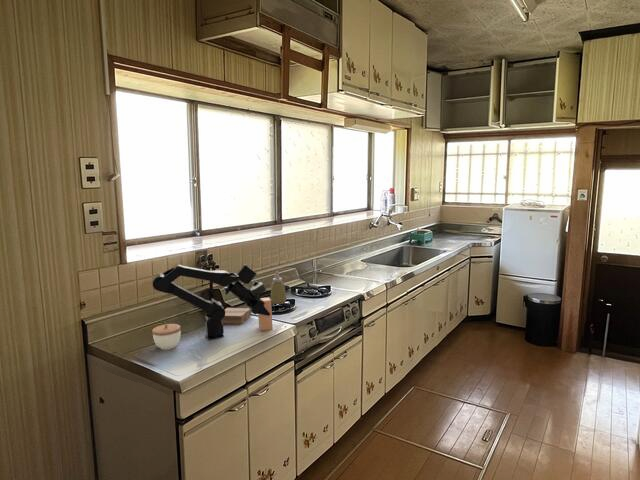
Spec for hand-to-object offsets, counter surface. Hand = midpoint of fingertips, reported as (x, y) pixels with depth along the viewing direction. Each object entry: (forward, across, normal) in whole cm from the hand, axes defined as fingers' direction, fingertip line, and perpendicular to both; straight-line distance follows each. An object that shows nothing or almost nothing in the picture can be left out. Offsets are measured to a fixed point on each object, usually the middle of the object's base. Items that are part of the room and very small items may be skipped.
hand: (268, 313), depth 191 cm
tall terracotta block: (+4, 0, +6) cm, 7 cm away
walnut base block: (-4, +19, +14) cm, 23 cm away
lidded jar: (-25, -4, +35) cm, 43 cm away
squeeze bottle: (+14, +30, -4) cm, 33 cm away
